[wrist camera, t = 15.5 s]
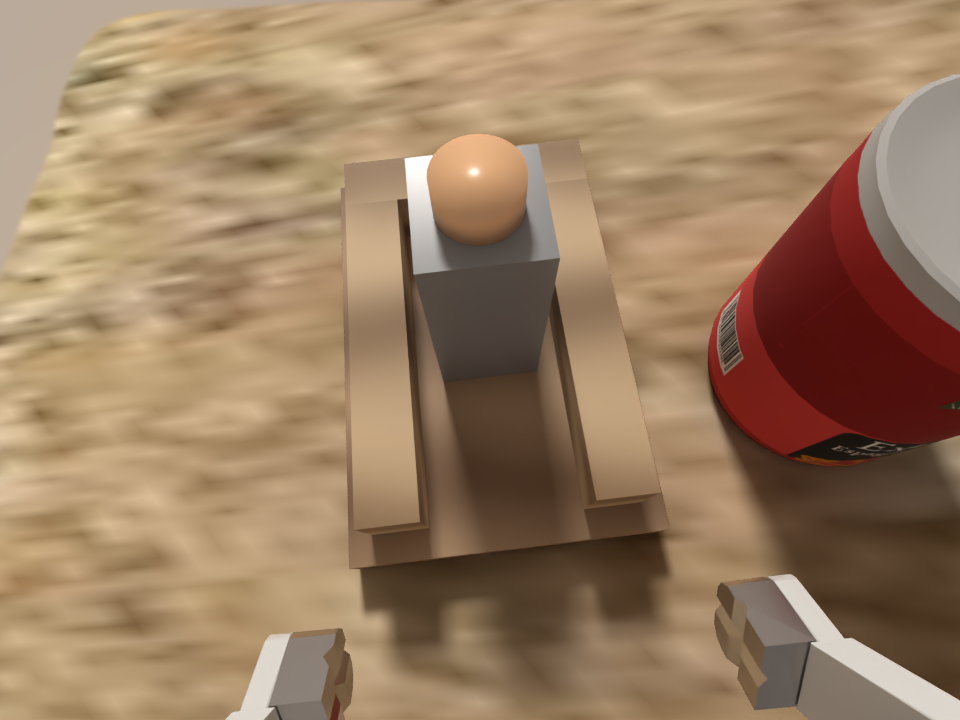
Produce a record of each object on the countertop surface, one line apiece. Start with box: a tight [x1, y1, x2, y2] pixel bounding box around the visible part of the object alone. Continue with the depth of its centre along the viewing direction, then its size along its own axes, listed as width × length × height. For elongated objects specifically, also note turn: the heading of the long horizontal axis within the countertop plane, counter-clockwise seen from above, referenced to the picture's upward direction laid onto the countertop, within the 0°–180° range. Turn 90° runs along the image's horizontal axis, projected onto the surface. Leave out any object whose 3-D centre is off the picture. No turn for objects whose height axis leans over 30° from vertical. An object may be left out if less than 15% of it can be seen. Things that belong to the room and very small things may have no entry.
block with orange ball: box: [405, 134, 560, 382], centre depth 17 cm, size 4×4×9 cm
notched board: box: [341, 139, 670, 569], centre depth 21 cm, size 16×11×4 cm
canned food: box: [708, 74, 960, 466], centre depth 17 cm, size 8×8×11 cm
